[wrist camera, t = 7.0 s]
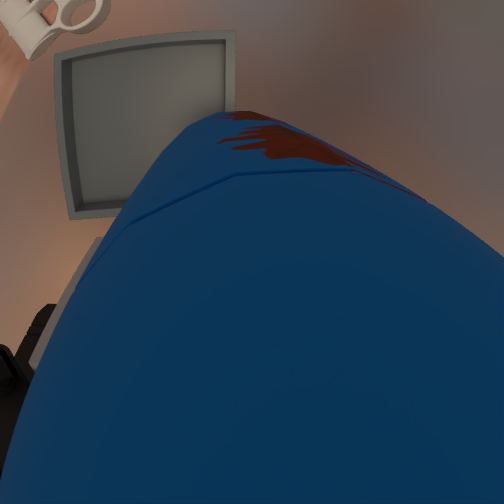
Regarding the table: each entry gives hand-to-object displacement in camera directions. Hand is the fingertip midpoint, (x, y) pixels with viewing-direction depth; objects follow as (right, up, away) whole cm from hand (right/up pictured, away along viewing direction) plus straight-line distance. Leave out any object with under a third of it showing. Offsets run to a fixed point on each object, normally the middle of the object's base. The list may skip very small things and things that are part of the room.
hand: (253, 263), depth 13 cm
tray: (-12, +15, +21) cm, 28 cm away
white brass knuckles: (-24, +32, +11) cm, 42 cm away
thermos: (-1, +5, +10) cm, 11 cm away
